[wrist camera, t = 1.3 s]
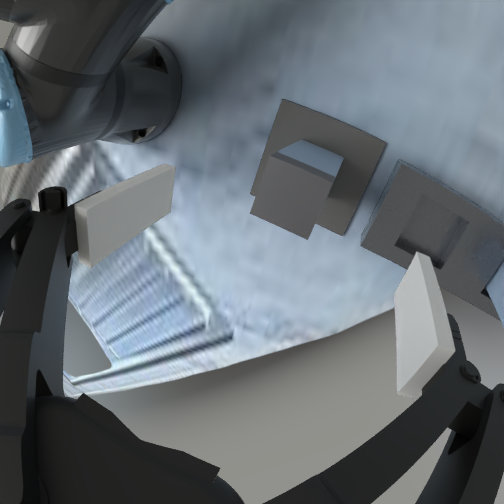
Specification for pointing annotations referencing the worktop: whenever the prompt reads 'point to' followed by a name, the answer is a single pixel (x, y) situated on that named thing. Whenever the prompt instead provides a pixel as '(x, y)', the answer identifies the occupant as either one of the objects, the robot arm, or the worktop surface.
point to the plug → (296, 186)
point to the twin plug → (497, 290)
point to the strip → (437, 233)
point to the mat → (332, 139)
